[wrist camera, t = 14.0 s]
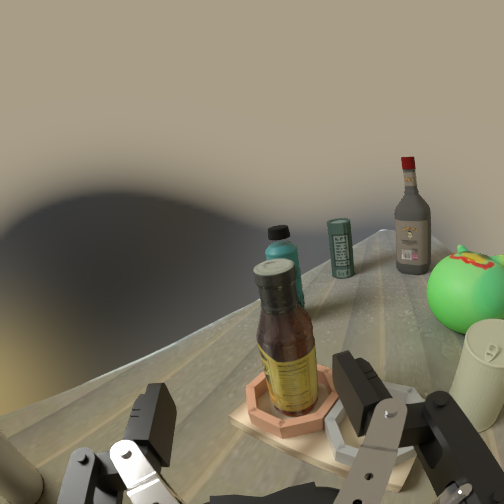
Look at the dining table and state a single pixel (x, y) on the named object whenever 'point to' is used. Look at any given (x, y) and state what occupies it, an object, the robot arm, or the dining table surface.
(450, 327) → the green horned round ornament
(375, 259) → the dining table surface
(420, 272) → the liquor
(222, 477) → the dining table surface
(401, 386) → the collar grey
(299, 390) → the sauce bottle
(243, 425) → the board
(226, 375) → the dining table surface
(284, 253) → the beverage bottle
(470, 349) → the can
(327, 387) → the collar terracotta
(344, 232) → the can
